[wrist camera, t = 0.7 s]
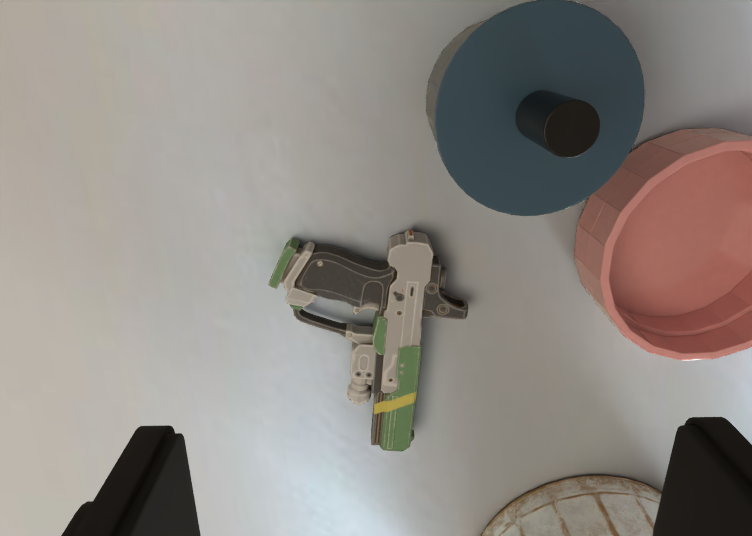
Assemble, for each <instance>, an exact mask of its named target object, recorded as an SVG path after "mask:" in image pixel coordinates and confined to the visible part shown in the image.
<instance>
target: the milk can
mask: <svg viewBox="0 0 752 536" xmlns="http://www.w3.org/2000/svg"><path fill="white" fill-rule="evenodd" d="M661 495H662V493H660V492H659V491H658V490H656V489H654V488H651V487H649V486H647V485H645V484H643V483H641V482H637V481H634V480H630V479H627V478H622V477H614V476H581V477H575V478H568V479H563V480H560V481H556V482H553V483H550V484H546V485H544V486H541V487H539V488H537V489H535V490H532V491H530V492H528V493H526V494H524V495H523V496H521V497H520V498H518V499H516V500H515V501H513V502H511V503H510V504H509V505H508V506H507V507H505V508H504V509H503V510H502V511H501V512H499V513H498V514H497V515H496V516H495V518H494V519H493V520H492V521H491V522H490V523H489V525H488V526H487V527H486V529H485V530H484V532H483V534H482V535H481V536H653V529H654V524H655V520H656V516H657V512H658V508H659V503H660V499H661Z"/></svg>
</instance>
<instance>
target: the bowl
mask: <svg viewBox="0 0 752 536" xmlns="http://www.w3.org/2000/svg"><path fill="white" fill-rule="evenodd" d="M574 256H575V260H576V265H577V269H578V273H579V277H580V281H581V283H582V285H583V286H584V288H585V289H586V291H587V292H588V294H589V295H590V296H591V298H592V299H593V301H594V302H595V304H596V305H597V306H598V307H599V308H600V309H601V311H602V312H603V313H604V314H605V315H606V316H607V317H608V318H609V320H610V321H611V322H612V323H613V324H614V325H615V326H616V328H617V329H618V330H619V331H620V332H621V333H622V334H623V335H624V336H625V337H626V338H628V339H629V340H631V341H632V342H634V343H635V344H637V345H638V346H640V347H641V348H643V349H644V350H646V351H647V352H649V353H653V354H657V355H661V356H665V357H669V358H673V359H677V360H699V359H715V358H719V357H722V356H725V355H729V354H732V353H735V352H738V351H742V350H745V349H748V348H750V347H752V136H748V135H744V134H740V133H736V132H732V131H728V130H724V129H720V128H699V129H682V130H678V131H676V132H673V133H670V134H667V135H664V136H661V137H658V138H656V139H653V140H650V141H647V142H645V143H644V144H642V145H641V146H640V147H638V148H637V149H635V150H634V151H632V152H631V153H630V154H628V156H627V157H626V159H625V161H624V162H623V163H622V165H621V166H620V168H619V169H618V170H617V172H616V173H615V174H614V175H613V176H612V177H611V178H610V179H609V181H608V182H606V183H605V184H604V185H603V186H602V187H601V188H600V189H599V190H597V191H596V192H595V193H593V194H592V195H590V197H589V199H588V201H587V203H586V206H585V208H584V210H583V212H582V215H581V217H580V219H579V221H578V225H577V234H576V243H575V252H574Z"/></svg>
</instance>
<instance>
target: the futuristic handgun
mask: <svg viewBox="0 0 752 536" xmlns="http://www.w3.org/2000/svg"><path fill="white" fill-rule="evenodd" d="M299 243H300V241H298V240H296V239H294V238H291V239H290V240H289V241H288V242H287V244H286V246H285V248H284V250H283V252H282V254H281V257H280V259H279V261H278V263H277V266H276V268H275V270H274V272H273V274H272V277H271V279H270V281H269V284H268V285H269V286H271V287H273V288H275V289H277V287H278V285H279V283H284V288H285V289H286V291H287V292H288V294H287V297H286V300H287V304H289V305H290V306H291V308H293V311H294V316H295V317H296V318H297V319H298V320H300V321H301V322H304V323H307V324H310V325H313V326H316V327H319V328H323V329H326V330H329V331H333V332H336V333H339V334H341V335H342V336H344V337H346V338H348V339H350V340H351V341H353V343H352V356H351V369H350V372H351V376H352V380H351V384H350V385H349V386H348V398H349V400H352V401H353V403H354V404H358V405H361V404H364V403H365V401H367V402H368V401H369V399H370V397H371V386H370V385H372V393H373V394H374V405H373V417H372V429H371V445H380V447H381V448H382V449H383V450H387V451H404V450H406V449H407V448H409V446H410V443H411V441H412V440H414V430H413V429H412V426H413V417H414V409H415V401H416V393H417V385H418V376H419V368H420V360H421V351H422V342H421V331H422V325H421V320H422V318H430V317H432V316H433V315H434V316H435V317H441V318H452V319H465V318H466V317H467V313H468V304H467V302H466V301H465V300H463V299H461V298H457V297H453V296H451V295H449V294H447V293H446V292H445V291H443V290H442V289H441V288H443V289H444V288H445V284H446V268H445V267H441V262H440V259H439V257H438V256H433V249H432V245H431V242H430V240H429V239H428V237H427V235H426V234H425V233H420V232H413V230H409V229H408V231H406V232H405V233H404V234H397V235H395V236H392V237H390V238H389V243H388V248H387V255H388V261H386V262H382V263H376V262H373V261H370V260H367V259H364V258H361V257H358V256H356V255H354V254H351V253H349V252H347V251H344V250H342V249H340V248H336V247H333V246H329V245H318V246H315V244H314V243H312V242H308V243H307V244H306V245H304V246H303V248H302V249H301V248H298V246H299ZM318 296H321V297H324V298H327V299H332V300H340V301H343V302H346V303H348V304H350V305H352V306H354V308H353V313H354V314H358V313H359V312H360V311H361V310H363V309H374V310H376V313H375V317H374V321H373V327H367V326H355V325H354V324H352V323H339V322H336V321H332V320H329V319H326V318H323V317H320V316H316V315H313V314H311V313H309V312H306V311H304V310H303V309H302V308H303V307H305V306H307V305H308V304H310V303H312V302H314V301H316V299H317V298H318Z"/></svg>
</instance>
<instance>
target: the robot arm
mask: <svg viewBox="0 0 752 536" xmlns="http://www.w3.org/2000/svg"><path fill="white" fill-rule="evenodd" d="M62 536H200V530H199V524H198V518H197V512H196V506H195V500H194V494H193V488H192V482H191V476H190V470H189V464H188V458H187V452H186V446H185V440H184V436H183V435H182V434H181V433H178V434H175V432H174V429H173V427H172V426H140V427H138V428H137V430H136V431H135V433H134V434H133V436H132V438H131V439H130V441H129V443H128V444H127V446H126V448H125V449H124V451H123V453H122V454H121V456H120V458H119V459H118V461H117V463H116V464H115V466H114V468H113V469H112V471H111V473H110V474H109V476H108V478H107V479H106V481H105V483H104V484H103V486H102V488H101V489H100V491H99V493H98V494H97V496H96V498H95V499H94V501H93V502H86V503H85V504H83V505H82V506H81V507H80V508H79V509H78V511H77V512H76V513H75V515H74V516H73V518H72V520H71V521H70V523H69V525H68V526H67V528H66V529H65V531H64V533H63V534H62ZM653 536H752V445H751V444H750V443H749V442H748V441H747V439H746V438H745V437H744V436H743V435H742V434H741V433H740V432H739V431H738V430H737V429H736V428H735V427H734V426H733V425H732V424H731V423H730V422H729V421H728V420H726V419H725V418H722V417H692V418H689V419H688V420H687V421H686V423H685V425H683V426H680V427H679V428H678V430H677V432H676V436H675V441H674V445H673V449H672V453H671V457H670V461H669V466H668V470H667V474H666V478H665V482H664V487H663V491H662V495H661V499H660V503H659V508H658V512H657V516H656V520H655V524H654V529H653Z"/></svg>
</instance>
